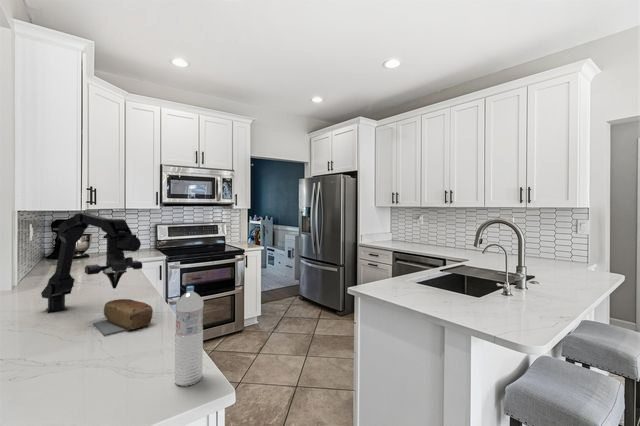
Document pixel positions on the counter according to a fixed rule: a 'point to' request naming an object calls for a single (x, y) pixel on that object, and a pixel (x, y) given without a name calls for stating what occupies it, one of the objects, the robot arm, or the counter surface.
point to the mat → (109, 327)
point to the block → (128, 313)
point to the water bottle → (189, 338)
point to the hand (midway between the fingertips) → (114, 288)
